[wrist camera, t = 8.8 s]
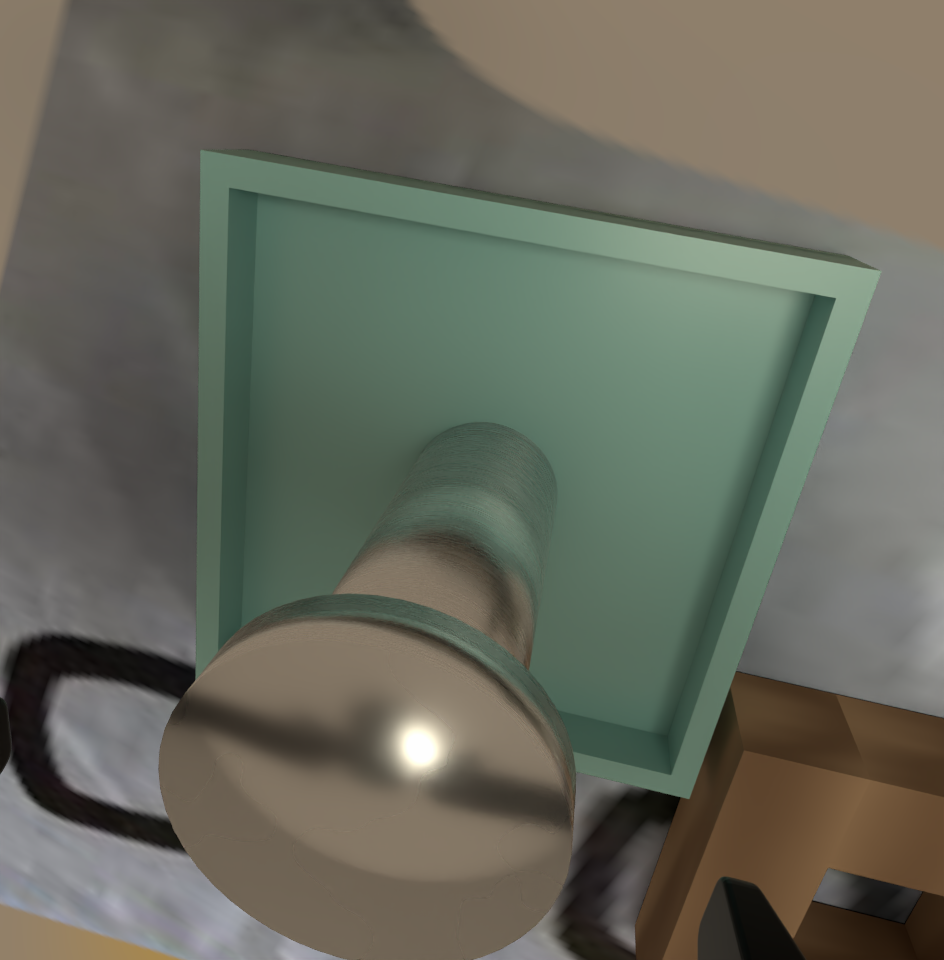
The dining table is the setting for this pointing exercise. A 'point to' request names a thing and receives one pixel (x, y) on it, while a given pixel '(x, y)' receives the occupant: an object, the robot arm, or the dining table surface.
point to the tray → (516, 417)
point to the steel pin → (393, 729)
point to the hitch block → (807, 823)
